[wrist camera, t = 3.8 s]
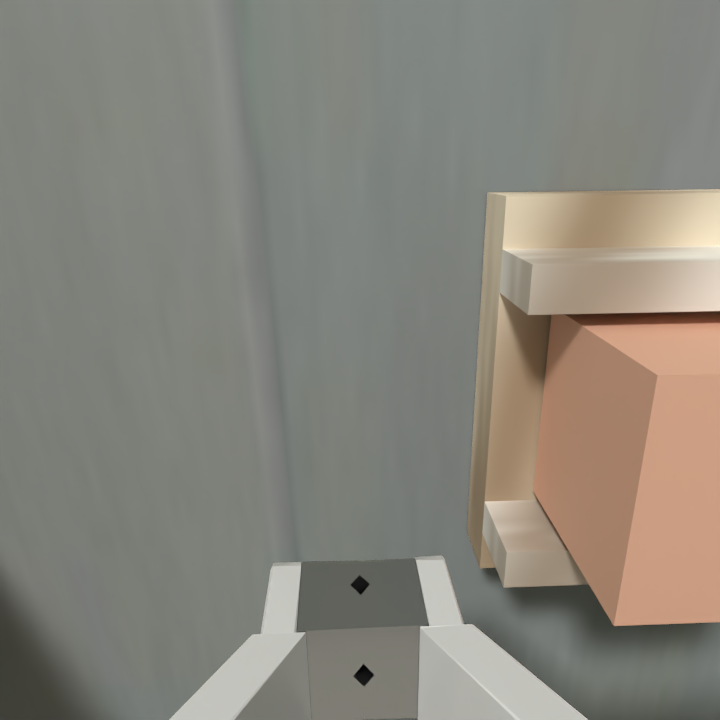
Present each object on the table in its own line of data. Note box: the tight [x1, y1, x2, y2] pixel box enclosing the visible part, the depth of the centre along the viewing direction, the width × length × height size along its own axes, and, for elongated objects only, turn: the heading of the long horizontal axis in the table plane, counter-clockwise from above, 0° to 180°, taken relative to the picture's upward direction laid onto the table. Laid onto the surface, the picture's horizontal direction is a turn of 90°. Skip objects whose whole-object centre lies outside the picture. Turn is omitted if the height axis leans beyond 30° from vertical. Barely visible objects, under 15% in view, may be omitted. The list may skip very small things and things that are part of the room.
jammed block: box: [533, 311, 720, 626], centre depth 14 cm, size 5×6×6 cm
